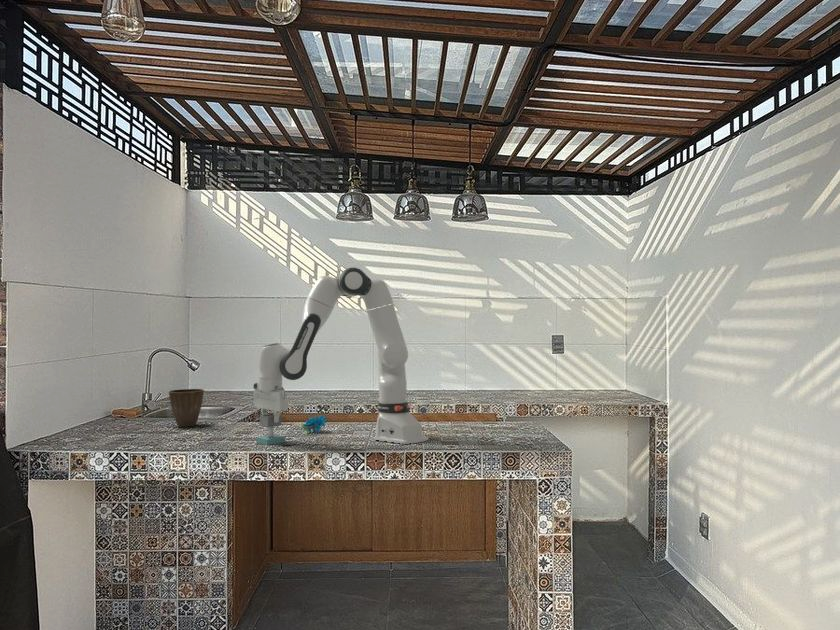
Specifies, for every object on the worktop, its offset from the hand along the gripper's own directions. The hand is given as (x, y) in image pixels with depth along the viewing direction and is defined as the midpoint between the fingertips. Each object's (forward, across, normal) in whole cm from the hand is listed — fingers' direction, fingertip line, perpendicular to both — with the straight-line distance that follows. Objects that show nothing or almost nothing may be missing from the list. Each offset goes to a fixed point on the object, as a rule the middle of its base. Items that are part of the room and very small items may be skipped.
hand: (270, 421), depth 252 cm
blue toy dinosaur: (+8, +7, -25) cm, 27 cm away
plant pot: (+8, +62, +7) cm, 63 cm away
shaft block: (+8, 0, 0) cm, 8 cm away
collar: (+2, 0, 0) cm, 2 cm away
